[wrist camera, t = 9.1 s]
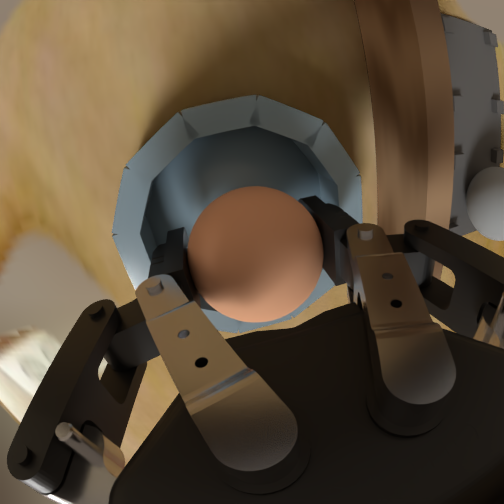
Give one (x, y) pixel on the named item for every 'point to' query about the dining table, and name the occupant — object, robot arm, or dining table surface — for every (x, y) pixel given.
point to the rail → (410, 111)
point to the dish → (228, 178)
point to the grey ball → (487, 202)
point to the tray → (472, 110)
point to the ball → (255, 254)
